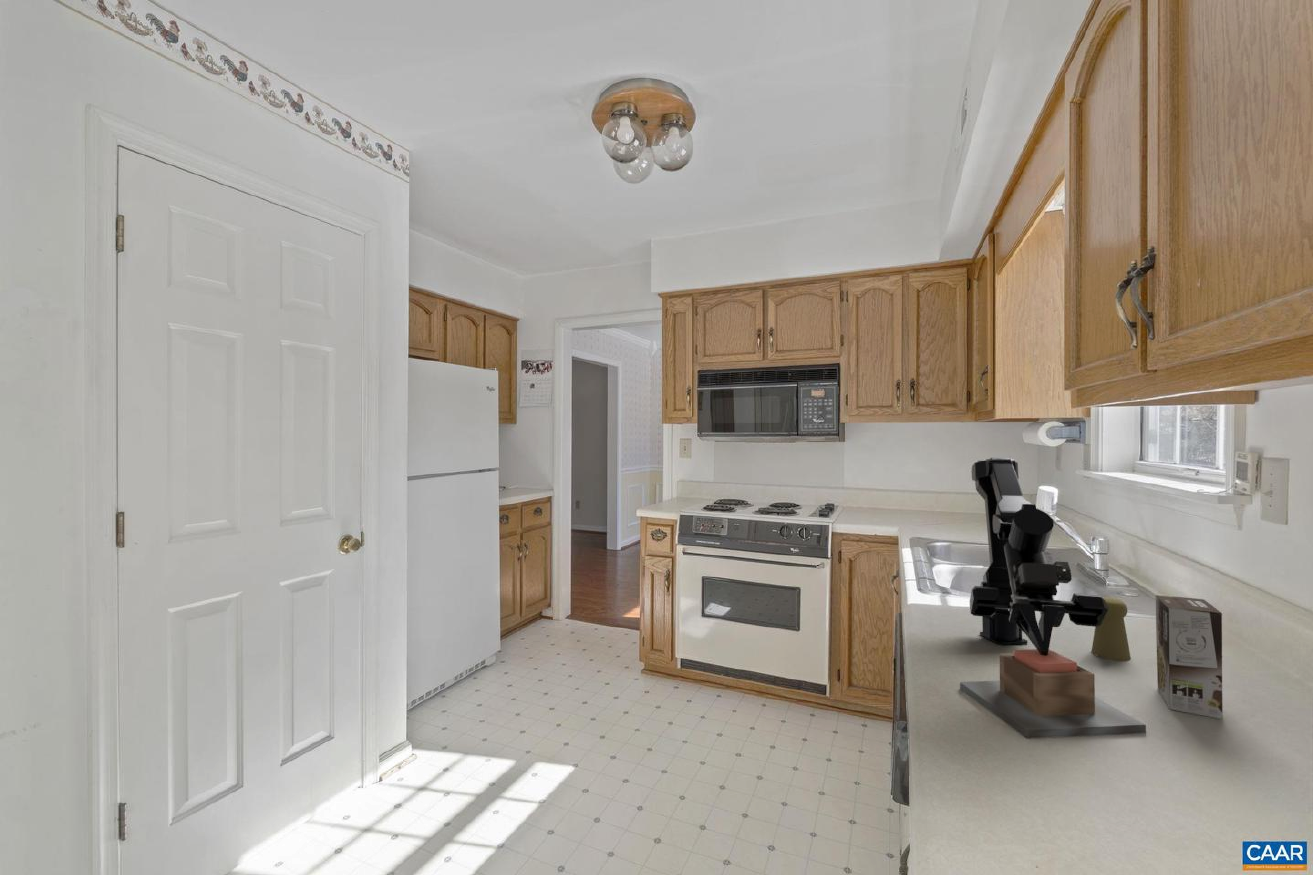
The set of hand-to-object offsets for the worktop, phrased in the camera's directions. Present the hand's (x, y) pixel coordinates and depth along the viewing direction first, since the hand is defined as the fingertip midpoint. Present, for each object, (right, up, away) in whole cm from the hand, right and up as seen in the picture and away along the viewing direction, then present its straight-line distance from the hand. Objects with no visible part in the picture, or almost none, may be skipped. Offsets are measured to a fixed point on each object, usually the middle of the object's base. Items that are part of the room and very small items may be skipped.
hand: (1044, 654), depth 90 cm
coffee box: (+24, -9, +1) cm, 26 cm away
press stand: (0, -9, 0) cm, 9 cm away
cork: (+28, -9, +22) cm, 36 cm away
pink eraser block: (0, -6, 0) cm, 6 cm away
